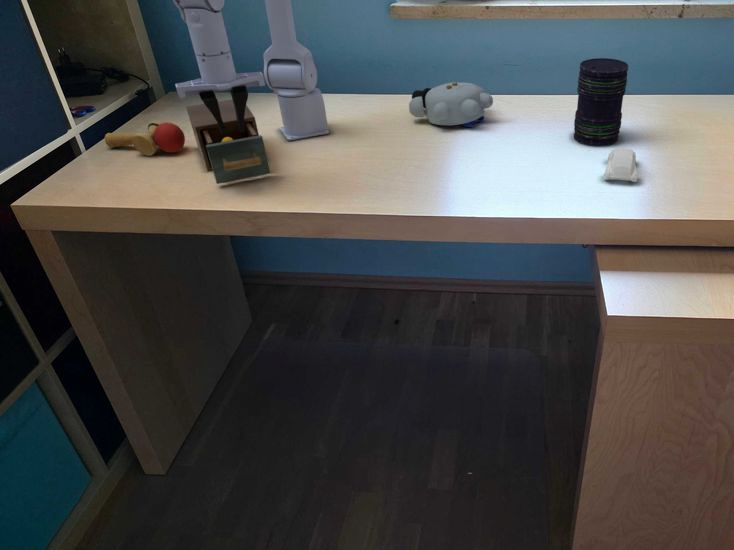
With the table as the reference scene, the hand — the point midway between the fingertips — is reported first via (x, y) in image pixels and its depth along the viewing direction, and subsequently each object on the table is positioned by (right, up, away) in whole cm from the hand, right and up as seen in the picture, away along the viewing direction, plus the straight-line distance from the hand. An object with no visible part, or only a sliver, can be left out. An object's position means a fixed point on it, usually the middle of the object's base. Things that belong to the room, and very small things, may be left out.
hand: (233, 131), depth 116 cm
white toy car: (+73, -5, +8) cm, 73 cm away
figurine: (+38, +14, +33) cm, 53 cm away
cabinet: (-7, +2, +19) cm, 20 cm away
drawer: (-2, -4, +10) cm, 11 cm away
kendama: (-26, +3, +21) cm, 34 cm away
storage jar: (+70, +6, +22) cm, 74 cm away
